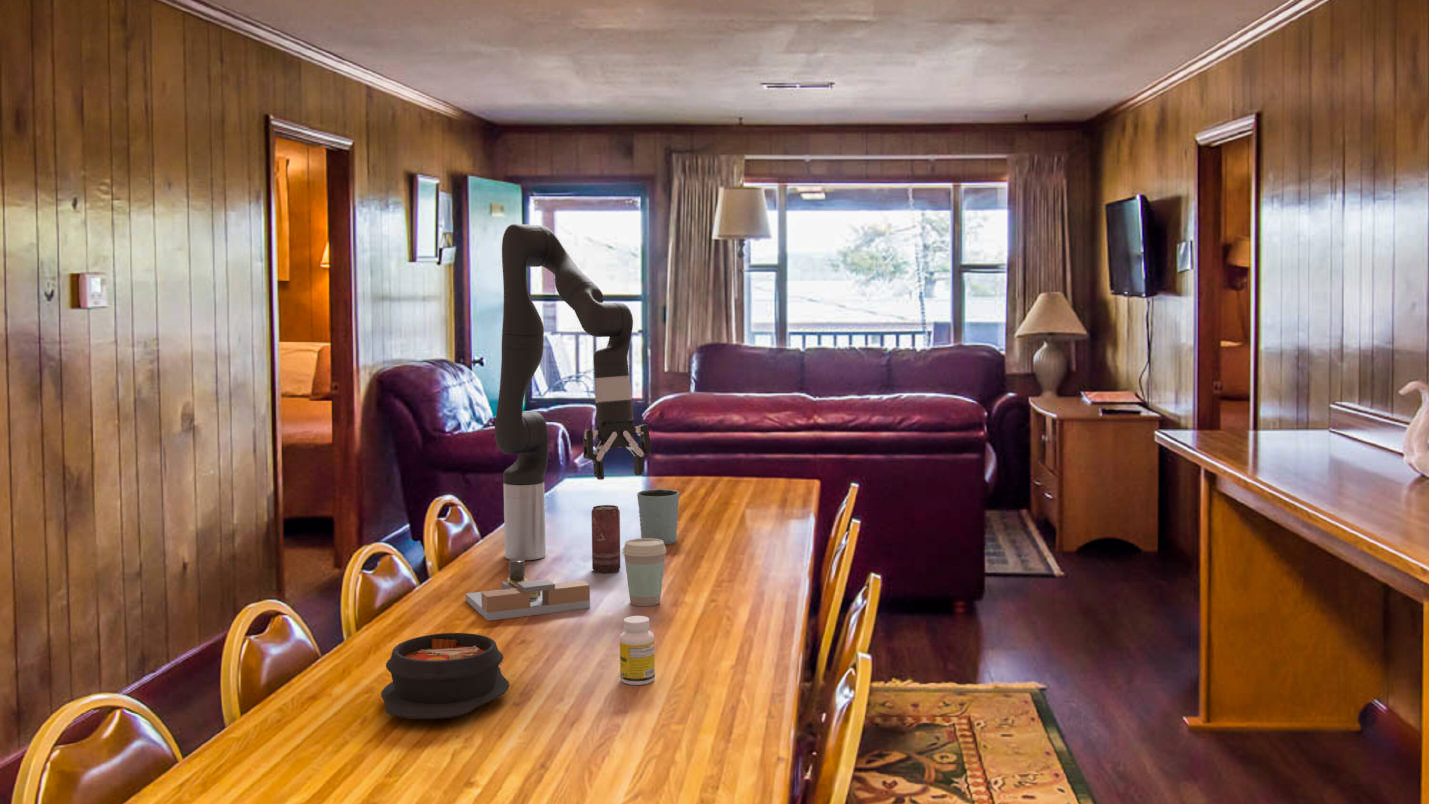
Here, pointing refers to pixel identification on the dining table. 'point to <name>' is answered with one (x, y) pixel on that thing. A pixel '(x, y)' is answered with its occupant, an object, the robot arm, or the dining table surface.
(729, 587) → the dining table surface
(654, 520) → the grey tapered cup
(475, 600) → the door plate
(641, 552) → the coffee cup
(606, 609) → the dining table surface
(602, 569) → the can
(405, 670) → the casserole
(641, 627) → the supplement bottle
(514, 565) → the bolt
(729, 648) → the dining table surface
